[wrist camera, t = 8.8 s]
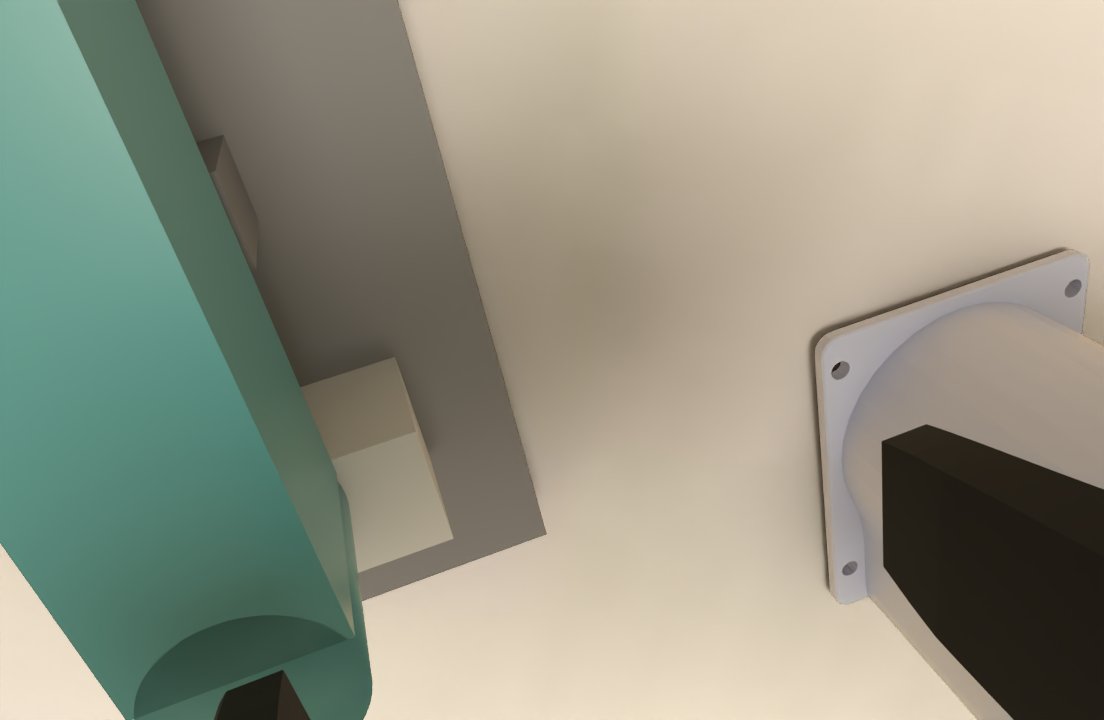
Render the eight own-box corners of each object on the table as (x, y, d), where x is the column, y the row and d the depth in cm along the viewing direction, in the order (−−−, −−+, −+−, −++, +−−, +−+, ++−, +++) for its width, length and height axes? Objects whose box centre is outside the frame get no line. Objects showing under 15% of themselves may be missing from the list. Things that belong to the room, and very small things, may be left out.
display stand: (530, 498, 22) (585, 621, 18) (133, 639, 21) (101, 806, 17) (219, -599, 12) (194, -842, 8) (-590, -474, 11) (-1081, -700, 7)
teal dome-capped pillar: (372, 556, 16) (400, 731, 12) (210, 615, 15) (192, 812, 12) (2, -314, 9) (-152, -444, 6) (-294, -253, 9) (-642, -361, 6)
